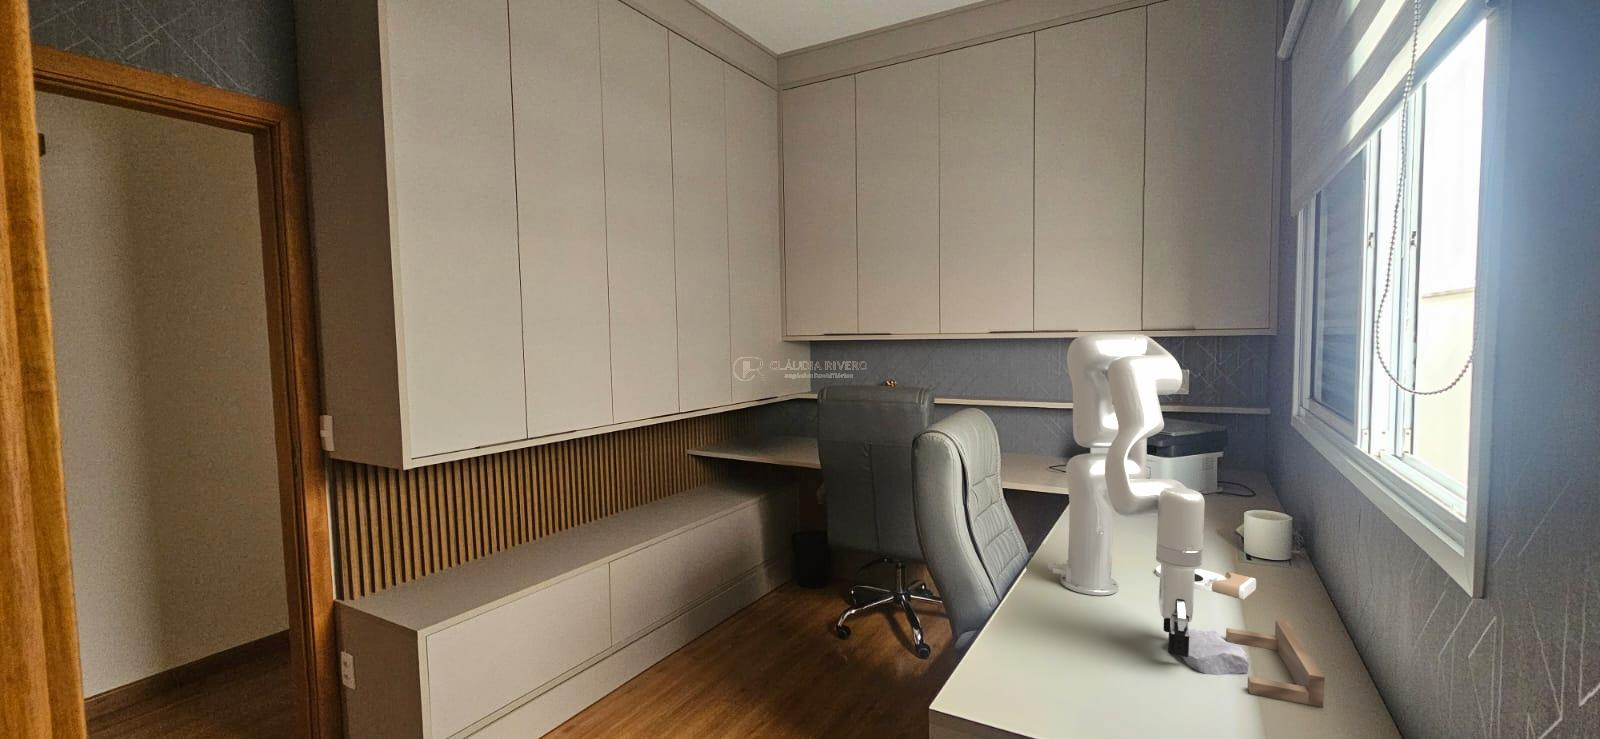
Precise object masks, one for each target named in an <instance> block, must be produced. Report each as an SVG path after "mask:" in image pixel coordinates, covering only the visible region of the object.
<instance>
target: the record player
mask: <svg viewBox="0 0 1600 739" xmlns="http://www.w3.org/2000/svg"><path fill="white" fill-rule="evenodd" d="M1160 571H1161V564H1160V565H1158V566H1156V568H1155V575H1156V576H1157V577H1159V578H1160ZM1195 589H1196V590H1200V591H1206V592H1213V593H1218V594H1220V595H1221V594H1222V595H1225V596H1228V597H1233V598H1236V599H1240V600H1245V599H1246V598H1247V597H1248V596H1250V595H1251V594H1253V592H1254V591H1255V590H1256V589H1257V579H1256V578H1255V577H1250V576H1246V575H1243V574H1242V575H1241V574H1237V573H1234V572H1230V571H1227V572H1226V573H1225V575H1222V574H1220V573H1216V572H1213V571H1210V570H1206V569H1205V570H1204V569H1202V568H1199V569H1195V578H1194V590H1195Z"/></svg>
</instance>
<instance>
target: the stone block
mask: <svg viewBox="0 0 1600 739" xmlns="http://www.w3.org/2000/svg"><path fill="white" fill-rule="evenodd" d="M1188 632H1189V655H1188V657H1183V656H1180V657H1181V658H1182V659H1183V661H1184V662H1185V663H1186V665H1187V666H1188V667H1191V668H1192V669H1194V670H1195V671H1198V672H1200V673H1202V674H1205V675H1215V676H1224V675H1239V674H1243V675H1245V674H1248V672H1249V666H1250V664H1249V657H1248V654H1247V653H1246V651H1245V650H1243V648H1242V647H1240V646H1239V645H1237V644H1236V643H1230V642H1228V641H1227V640H1225V639H1224V638H1223V637H1221V636H1220V634H1219V632H1218V631H1216V630H1213V629H1212V630H1202V629H1195V628H1193V629H1191V628H1188Z"/></svg>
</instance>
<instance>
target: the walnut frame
mask: <svg viewBox="0 0 1600 739" xmlns="http://www.w3.org/2000/svg"><path fill="white" fill-rule="evenodd" d="M1274 626H1275V627H1274V629H1275V630H1274V634H1268V633H1261V632H1254V631H1247V630H1242V629H1236V628H1229V627H1226V629H1225V630H1226V632H1225V639H1226V642H1229V643H1234V644H1236V645H1237V644H1238V645H1245V646H1249V647H1250V646H1251V647H1256V648H1262V649H1268V650H1276V651H1277V653H1278V655H1279V656H1280V659H1282V661H1283V663H1284V665H1285V666H1286V668H1287V671H1288V672H1289V673H1290V676H1291V677H1292V679H1293V680H1294V682H1295V684H1293V683H1287V682H1282V681H1276V680H1275V681H1274V680H1269V679H1265V678H1260V677H1254V676H1247V690H1248V692H1249V694H1251V695H1255V696H1261V697H1267V698H1272V699H1277V700H1281V701H1288V702H1294V703H1299V704H1305V705H1308V706H1315V707H1319V708H1320V707H1321V708H1324V701H1325V700H1324V699H1325V697H1324V696H1325V682H1326V681H1325V680H1326V677H1325V676H1324V674H1323V673H1322V671H1321V669H1320V668H1319V666H1318V665H1317V664H1316V662H1315V660H1314V659H1313V657H1312V656H1311V654H1310V653H1309V651H1308V650H1307V649H1306V646H1305V645H1304V644H1303V642H1302V641H1301V639H1300V638H1299V636H1298V634H1297V633H1296V632H1295V630H1294V629H1293V627H1292V625H1291V623H1289V621H1285V620H1284V621H1282V620H1275V624H1274Z"/></svg>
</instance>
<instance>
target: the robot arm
mask: <svg viewBox="0 0 1600 739" xmlns="http://www.w3.org/2000/svg"><path fill="white" fill-rule="evenodd" d="M1066 357H1067V358H1066V362H1067V364H1066V365H1067V370H1068V373H1069V378H1070V381H1071V385H1072V431H1073V432H1072V433H1073V438H1074V441H1075V442H1076V444H1077V445H1078V446H1080V447H1083V448H1090V449H1091V448H1092V449H1108V451H1107V453H1103V452H1101V453H1099V452H1098V453H1094V452H1093V453H1091V452H1090V453H1082V454H1077V455H1074V456H1072V457H1071V458H1070V459H1069V460H1068V462H1067V464H1066V466H1065V474H1066V483H1067V488H1068V498H1069V500H1068V502H1069V504H1068V505H1069V506H1068V508H1069V511H1068V512H1069V514H1068V517H1069V518H1068V546H1067V547H1068V552H1067V555H1068V557H1067V560H1066V563H1065V562H1064V563H1063V562H1062V563H1056V562H1048V564H1047V570H1048V571H1052V574H1053V575H1061V576H1060V583H1061V585H1062V586H1064V587H1065V588H1067V589H1069V590H1071V591H1074V592H1076V593H1080V594H1083V595H1084V594H1085V595H1091V596H1108V595H1114V594H1116V593H1117V592H1118V591H1119V584H1118V582H1117V581H1116V580H1115V579H1113V578H1112V572H1113V571H1112V569H1113V568H1112V567H1113V566H1112V564H1113V535H1114V515H1113V514H1114V513H1113V511H1112V508H1113V509H1114V511H1115V512H1116V513H1117V514H1118V515H1119V516H1121V517H1125V518H1131V519H1134V518H1135V519H1136V518H1138V519H1140V518H1142V519H1143V518H1157V522H1156V549H1155V550H1156V551H1155V552H1156V553H1155V560H1156V562H1158V563H1159V564H1160V565H1161V571H1160V577H1159V590H1158V605H1159V606H1158V608H1159V610H1160V611H1159V612H1160V616H1162V619H1163V628H1162V629H1163V631H1164V632H1165V633H1168V642H1167V643H1168V644H1167V645H1168V646H1167V651H1168V654H1169V655H1172V656H1178V657H1181V656H1183V657H1188V655H1189V632H1188V629H1189V623H1190V622H1192V620H1193V612H1194V601H1195V600H1194V599H1195V588H1194V578H1195V569H1202V567H1203V552H1204V550H1203V548H1204V531H1205V530H1204V525H1205V508H1206V507H1205V503H1206V502H1205V498H1204V496H1203V494H1202V493H1201V492H1199V491H1197V490H1194V489H1191V488H1187V486H1185V485H1184V484H1183V483H1182V482H1180V481H1178V480H1176V479H1172V478H1147V466H1148V465H1147V464H1148V462H1147V460H1148V459H1147V457H1148V455H1147V452H1148V451H1147V449H1148V448H1147V445H1148V444H1147V442H1148V438H1149V437H1153V436H1154V435H1157V434H1158V433H1160V432H1162V430H1164V427H1165V422H1164V418H1163V413H1162V409H1161V405H1160V401H1159V400H1160V399H1159V397H1158V396H1161V395H1162V396H1163V395H1164V396H1166V395H1169V396H1170V395H1174V394H1175V393H1177V392H1178V391H1180V389H1181V387H1182V385H1183V371H1182V369H1181V367H1180V364H1179V363H1178V361H1177V359H1176V358H1175V357H1174V356H1173V355H1172V354H1171V353H1170V352H1169V351H1168V350H1166V348H1164V347H1163V346H1161V345H1160V344H1159V343H1158V342H1156V341H1155V340H1154V339H1153V338H1152V337H1149V336H1147V335H1145V334H1140V333H1139V334H1138V333H1091V334H1084V335H1081V336H1078V337H1076V338H1074V340H1072V341H1071V343H1070V345H1069V346H1068V351H1067V356H1066ZM1103 372H1107V377H1106V376H1105V375H1104V373H1103ZM1106 495H1108V498H1109V500H1110V504H1111V506H1112V508H1111V507H1110V506H1109V504H1108V503H1107V501H1106V499H1105V498H1104V496H1106Z"/></svg>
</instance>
